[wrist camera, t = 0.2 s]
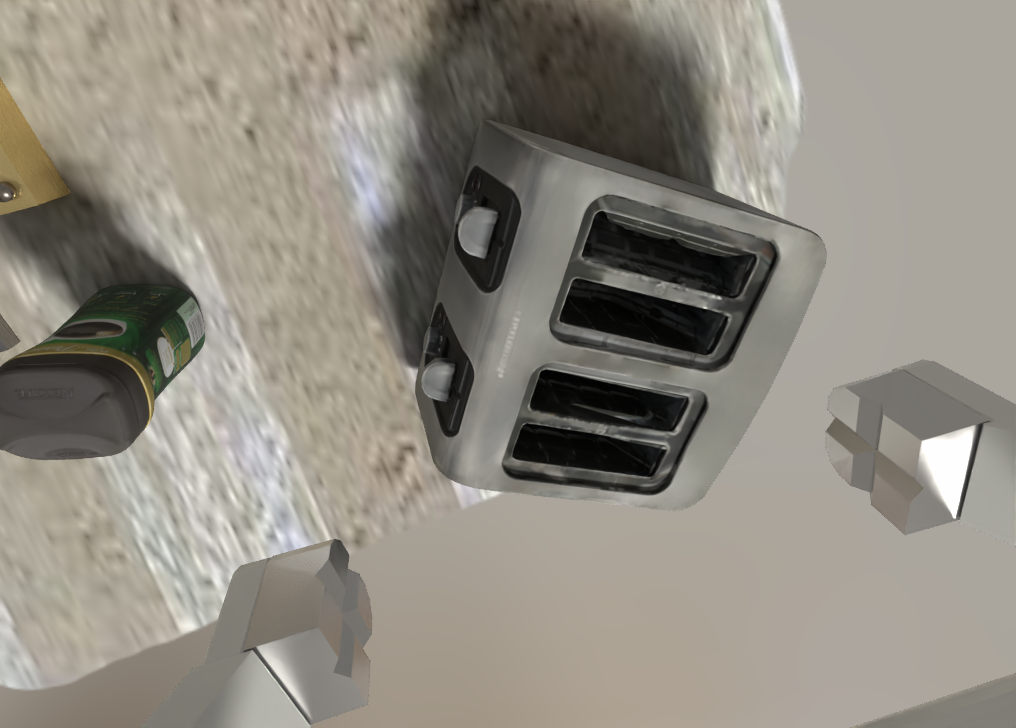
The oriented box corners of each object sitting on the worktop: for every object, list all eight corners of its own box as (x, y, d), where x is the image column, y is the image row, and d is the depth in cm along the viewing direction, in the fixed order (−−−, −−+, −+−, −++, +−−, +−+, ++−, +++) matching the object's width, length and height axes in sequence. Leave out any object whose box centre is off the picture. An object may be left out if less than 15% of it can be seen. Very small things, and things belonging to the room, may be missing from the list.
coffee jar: (109, 358, 54) (-13, 478, 38) (86, 281, 51) (-60, 378, 35) (215, 355, 56) (141, 469, 40) (200, 281, 53) (112, 373, 36)
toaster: (465, 108, 50) (498, 124, 33) (753, 201, 59) (891, 250, 42) (399, 381, 61) (399, 493, 45) (648, 424, 70) (724, 532, 54)
